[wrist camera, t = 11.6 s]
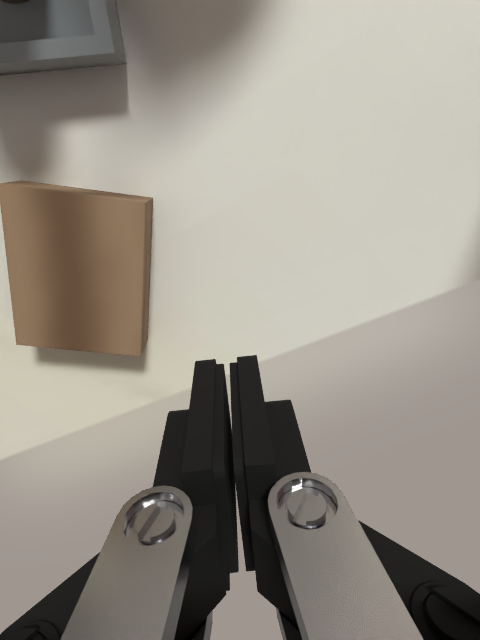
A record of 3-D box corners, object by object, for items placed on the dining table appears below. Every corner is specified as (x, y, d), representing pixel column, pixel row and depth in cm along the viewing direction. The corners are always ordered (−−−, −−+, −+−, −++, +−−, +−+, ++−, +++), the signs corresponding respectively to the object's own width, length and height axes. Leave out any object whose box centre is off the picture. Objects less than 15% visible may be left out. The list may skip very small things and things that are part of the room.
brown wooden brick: (154, 197, 24) (145, 202, 22) (148, 336, 28) (140, 356, 26) (24, 180, 24) (-2, 184, 21) (36, 325, 28) (16, 344, 25)
